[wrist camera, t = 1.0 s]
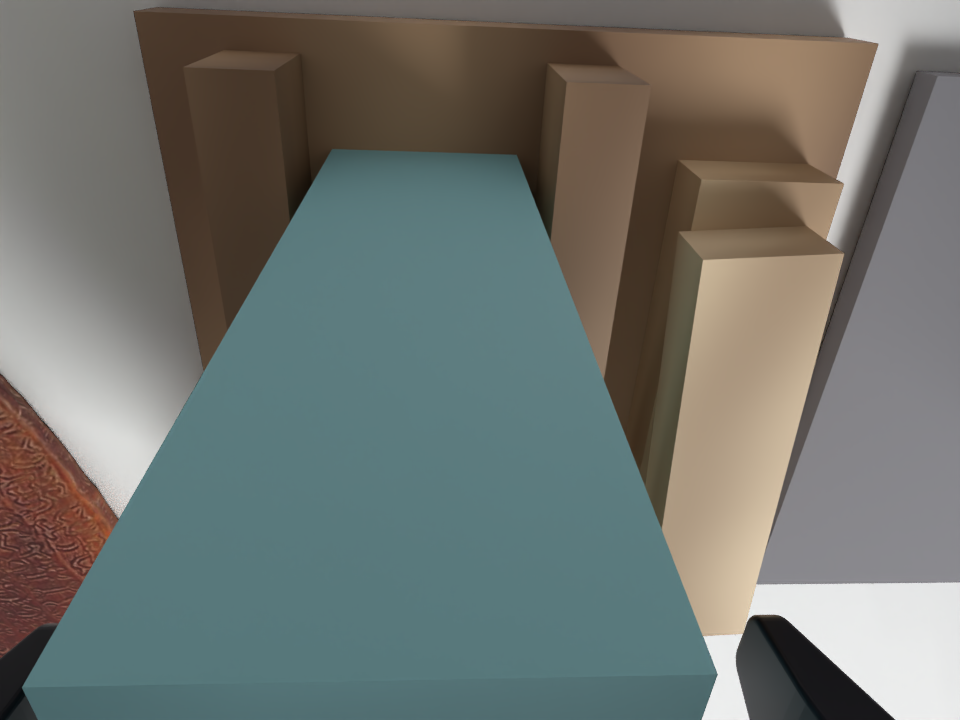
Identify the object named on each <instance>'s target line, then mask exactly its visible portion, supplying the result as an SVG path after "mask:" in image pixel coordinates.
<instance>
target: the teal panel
mask: <svg viewBox="0 0 960 720" xmlns="http://www.w3.org/2000/svg"><path fill="white" fill-rule="evenodd" d="M717 675H718V674H717V672H716V669H715V666H714V664H713V661H712V659H711V656H710V653H709V651H708V648H707V646H706V643H705V640H704V638H703V635H702V633H701V630H700V628H699V625H698V622H697V620H696V617H695V615H694V612H693V609H692V607H691V604H690V602H689V599H688V597H687V594H686V591H685V589H684V586H683V584H682V581H681V578H680V576H679V573H678V571H677V568H676V565H675V563H674V560H673V558H672V555H671V553H670V550H669V547H668V545H667V542H666V540H665V537H664V534H663V532H662V529H661V527H660V524H659V522H658V519H657V516H656V514H655V511H654V509H653V506H652V503H651V501H650V498H649V496H648V493H647V490H646V488H645V485H644V483H643V480H642V478H641V475H640V472H639V470H638V467H637V465H636V462H635V459H634V457H633V454H632V452H631V449H630V447H629V444H628V441H627V439H626V436H625V434H624V431H623V428H622V426H621V423H620V421H619V418H618V416H617V413H616V410H615V408H614V405H613V403H612V400H611V397H610V395H609V392H608V390H607V387H606V384H605V382H604V379H603V377H602V374H601V372H600V369H599V366H598V364H597V361H596V359H595V356H594V353H593V351H592V348H591V346H590V343H589V341H588V338H587V335H586V333H585V330H584V328H583V325H582V322H581V320H580V317H579V315H578V312H577V309H576V307H575V304H574V302H573V299H572V297H571V294H570V291H569V289H568V286H567V284H566V281H565V278H564V276H563V273H562V271H561V268H560V266H559V263H558V260H557V258H556V255H555V253H554V250H553V247H552V245H551V242H550V240H549V237H548V234H547V232H546V229H545V227H544V224H543V222H542V219H541V216H540V214H539V211H538V209H537V206H536V203H535V201H534V198H533V196H532V193H531V191H530V188H529V185H528V183H527V180H526V178H525V175H524V172H523V170H522V167H521V165H520V162H519V160H518V157H517V155H506V154H474V153H442V152H411V151H379V150H347V149H332V150H331V152H330V154H329V155H328V157H327V159H326V161H325V162H324V164H323V166H322V168H321V169H320V171H319V173H318V175H317V176H316V178H315V180H314V182H313V183H312V185H311V187H310V188H309V190H308V192H307V194H306V195H305V197H304V199H303V201H302V202H301V204H300V206H299V208H298V209H297V211H296V213H295V215H294V216H293V218H292V220H291V221H290V223H289V225H288V227H287V228H286V230H285V232H284V234H283V235H282V237H281V239H280V241H279V242H278V244H277V246H276V247H275V249H274V251H273V253H272V254H271V256H270V258H269V260H268V261H267V263H266V265H265V267H264V268H263V270H262V272H261V274H260V275H259V277H258V279H257V280H256V282H255V284H254V286H253V287H252V289H251V291H250V293H249V294H248V296H247V298H246V300H245V301H244V303H243V305H242V306H241V308H240V310H239V312H238V313H237V315H236V317H235V319H234V320H233V322H232V324H231V326H230V327H229V329H228V331H227V333H226V334H225V336H224V338H223V339H222V341H221V343H220V345H219V346H218V348H217V350H216V352H215V353H214V355H213V357H212V359H211V360H210V362H209V364H208V365H207V367H206V369H205V371H204V372H203V374H202V376H201V378H200V379H199V381H198V383H197V385H196V386H195V388H194V390H193V392H192V393H191V395H190V397H189V398H188V400H187V402H186V404H185V405H184V407H183V409H182V411H181V412H180V414H179V416H178V418H177V419H176V421H175V423H174V425H173V426H172V428H171V430H170V431H169V433H168V435H167V437H166V438H165V440H164V442H163V444H162V445H161V447H160V449H159V451H158V452H157V454H156V456H155V457H154V459H153V461H152V463H151V464H150V466H149V468H148V470H147V471H146V473H145V475H144V477H143V478H142V480H141V482H140V484H139V485H138V487H137V489H136V490H135V492H134V494H133V496H132V497H131V499H130V501H129V503H128V504H127V506H126V508H125V510H124V511H123V513H122V515H121V516H120V518H119V520H118V522H117V523H116V525H115V527H114V529H113V530H112V532H111V534H110V536H109V537H108V539H107V541H106V543H105V544H104V546H103V548H102V549H101V551H100V553H99V555H98V556H97V558H96V560H95V562H94V563H93V565H92V567H91V569H90V570H89V572H88V574H87V575H86V577H85V579H84V581H83V582H82V584H81V586H80V588H79V589H78V591H77V593H76V595H75V596H74V598H73V600H72V602H71V603H70V605H69V607H68V608H67V610H66V612H65V614H64V615H63V617H62V619H61V621H60V622H59V624H58V626H57V628H56V629H55V631H54V633H53V634H52V636H51V638H50V640H49V641H48V643H47V645H46V647H45V648H44V650H43V652H42V654H41V655H40V657H39V659H38V661H37V662H36V664H35V666H34V667H33V669H32V671H31V673H30V674H29V676H28V678H27V680H26V681H25V683H24V685H23V687H22V689H23V691H24V693H25V695H26V697H27V699H28V701H29V703H30V705H31V707H32V709H33V711H34V713H35V715H36V717H37V719H38V720H701V719H702V717H703V714H704V711H705V708H706V705H707V703H708V700H709V697H710V694H711V691H712V689H713V686H714V683H715V680H716V677H717Z"/></svg>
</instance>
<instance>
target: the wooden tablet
mask: <svg viewBox="0 0 960 720" xmlns="http://www.w3.org/2000/svg"><path fill="white" fill-rule="evenodd" d="M117 522H118V519H117V517H116V516H115V515H114V513H113V512H112V510H111V509H110V507H109V506H108V504H107V503H106V502H105V500H104V498H103V497H102V495H101V494H100V492H99V490H98V489H97V488H96V487H95V486H94V485H93V484H92V483H91V481H90V480H89V479H88V478H87V476H86V475H85V474H84V473H83V472H82V470H81V469H80V468H79V466H78V464H77V463H76V461H75V460H74V458H73V457H72V456H71V454H70V453H69V452H68V451H67V449H66V448H65V447H64V445H63V444H62V443H61V442H60V441H59V440H58V439H57V437H56V436H55V435H54V434H53V433H52V432H51V431H50V429H49V428H48V427H47V426H46V425H45V424H44V423H43V422H42V421H41V419H40V418H39V417H38V415H37V414H36V412H35V411H34V410H33V409H32V408H31V406H30V405H29V404H28V403H27V402H26V400H25V399H24V398H23V397H22V396H21V395H20V394H19V393H18V392H17V391H16V390H15V389H14V388H13V387H12V386H11V385H10V384H9V383H8V382H7V380H6V379H5V378H4V377H3V376H1V375H0V658H1V657H2V656H3V655H5V654H6V653H7V652H8V651H9V650H11V649H12V648H13V647H14V646H15V645H17V644H18V643H19V642H20V641H21V640H23V639H24V638H25V637H26V636H27V635H29V634H30V633H31V632H32V631H33V630H35V629H36V628H38V627H39V626H41V625H43V624H47V623H59V622H60V621H61V619H62V617H63V615H64V614H65V612H66V610H67V608H68V607H69V605H70V603H71V602H72V600H73V598H74V596H75V595H76V593H77V591H78V589H79V588H80V586H81V584H82V582H83V581H84V579H85V577H86V575H87V574H88V572H89V570H90V569H91V567H92V565H93V563H94V562H95V560H96V558H97V556H98V555H99V553H100V551H101V549H102V548H103V546H104V544H105V543H106V541H107V539H108V537H109V536H110V534H111V532H112V530H113V529H114V527H115V525H116V523H117Z"/></svg>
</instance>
